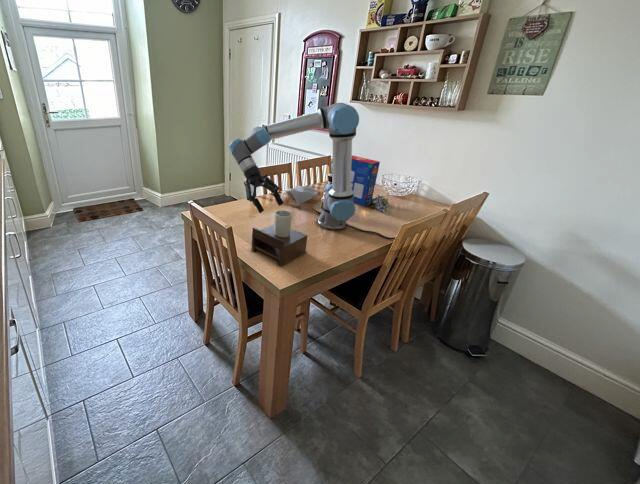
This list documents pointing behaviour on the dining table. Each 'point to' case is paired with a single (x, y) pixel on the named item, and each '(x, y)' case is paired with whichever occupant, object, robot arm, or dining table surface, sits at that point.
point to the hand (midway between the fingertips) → (272, 208)
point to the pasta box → (363, 179)
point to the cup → (282, 223)
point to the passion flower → (380, 203)
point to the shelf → (279, 244)
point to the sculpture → (301, 194)
